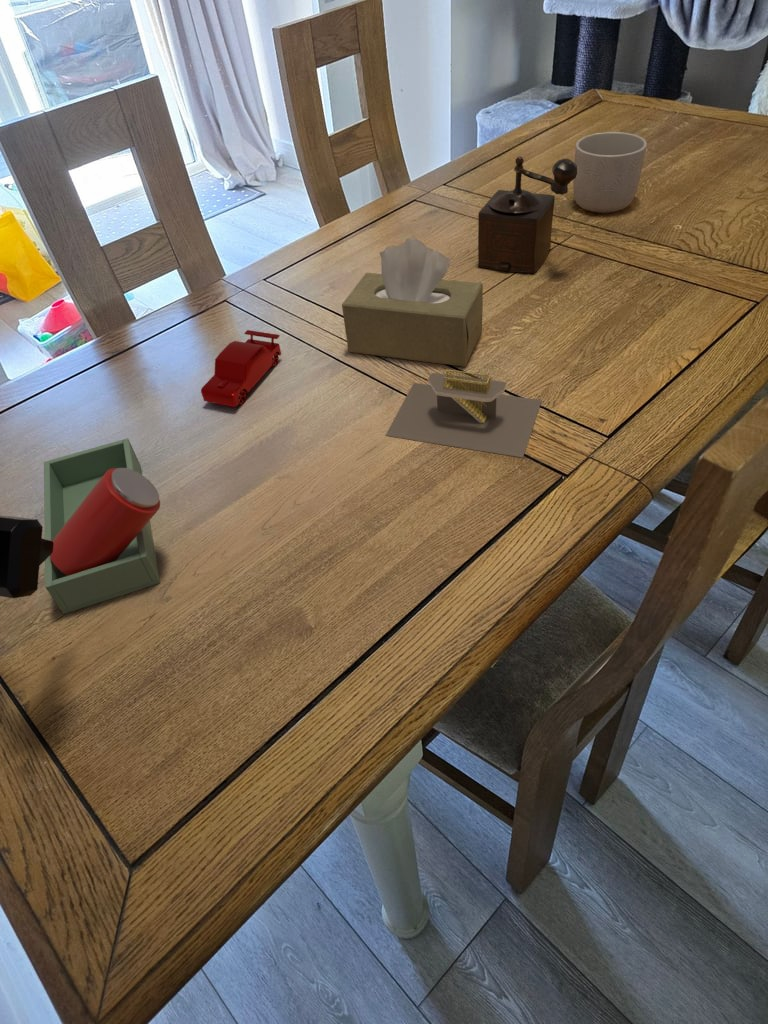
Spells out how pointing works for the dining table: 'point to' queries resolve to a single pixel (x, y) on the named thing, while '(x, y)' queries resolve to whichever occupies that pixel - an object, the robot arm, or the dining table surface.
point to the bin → (62, 497)
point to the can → (105, 521)
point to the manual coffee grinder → (521, 222)
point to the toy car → (240, 369)
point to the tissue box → (414, 309)
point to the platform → (466, 414)
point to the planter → (608, 170)
